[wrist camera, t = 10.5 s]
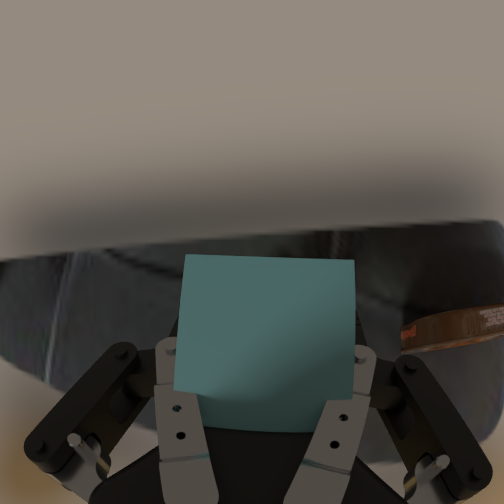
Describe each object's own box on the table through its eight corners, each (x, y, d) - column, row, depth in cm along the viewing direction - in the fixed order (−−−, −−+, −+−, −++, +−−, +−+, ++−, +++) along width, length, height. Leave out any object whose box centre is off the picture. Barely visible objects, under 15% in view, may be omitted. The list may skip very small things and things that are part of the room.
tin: (386, 356, 25) (428, 355, 17) (385, 323, 26) (426, 310, 18) (498, 338, 24) (548, 328, 16) (496, 311, 25) (545, 295, 17)
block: (225, 385, 17) (172, 420, 7) (230, 305, 18) (185, 254, 9) (308, 389, 16) (349, 430, 7) (312, 308, 18) (354, 260, 9)
